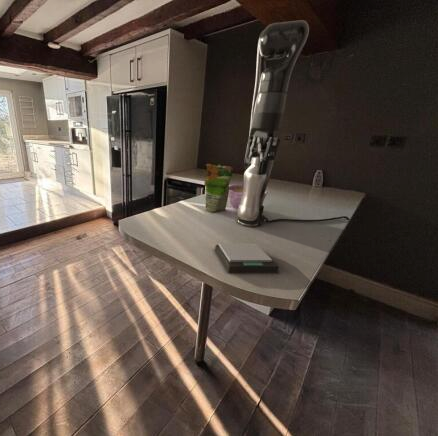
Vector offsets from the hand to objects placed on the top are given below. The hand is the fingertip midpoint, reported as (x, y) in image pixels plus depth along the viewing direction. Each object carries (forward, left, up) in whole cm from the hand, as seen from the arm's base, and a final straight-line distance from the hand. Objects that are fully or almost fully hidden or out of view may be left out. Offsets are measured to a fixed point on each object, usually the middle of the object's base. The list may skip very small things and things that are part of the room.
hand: (256, 172), depth 71 cm
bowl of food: (-23, -50, -30) cm, 63 cm away
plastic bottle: (0, 0, -16) cm, 16 cm away
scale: (-1, +2, -30) cm, 30 cm away
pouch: (-6, -49, -30) cm, 58 cm away
